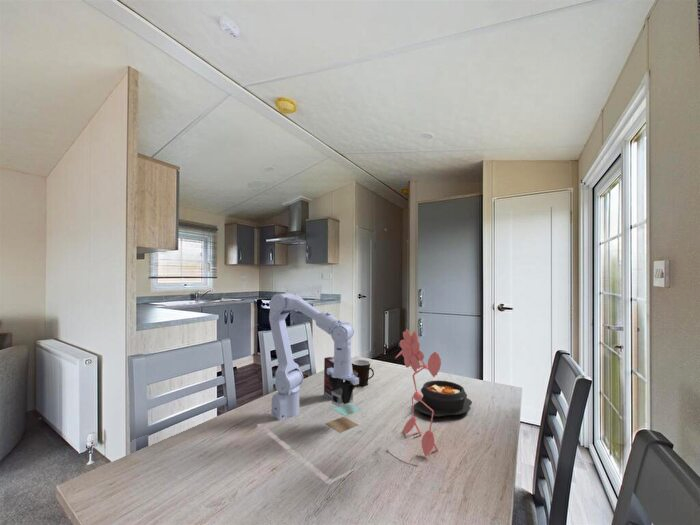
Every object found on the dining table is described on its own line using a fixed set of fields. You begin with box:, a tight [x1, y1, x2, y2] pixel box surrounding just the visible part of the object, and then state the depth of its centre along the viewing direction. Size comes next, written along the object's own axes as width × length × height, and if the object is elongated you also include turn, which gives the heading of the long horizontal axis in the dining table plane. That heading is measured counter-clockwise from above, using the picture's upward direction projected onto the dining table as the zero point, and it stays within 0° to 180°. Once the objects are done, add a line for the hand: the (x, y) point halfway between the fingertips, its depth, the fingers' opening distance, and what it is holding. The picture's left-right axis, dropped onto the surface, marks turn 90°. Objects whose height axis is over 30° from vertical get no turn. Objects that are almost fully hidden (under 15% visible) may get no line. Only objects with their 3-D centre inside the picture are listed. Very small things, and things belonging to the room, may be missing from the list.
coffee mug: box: [351, 359, 375, 388], centre depth 147 cm, size 12×9×10 cm
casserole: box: [413, 380, 473, 417], centre depth 123 cm, size 25×19×8 cm
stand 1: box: [331, 403, 362, 417], centre depth 120 cm, size 8×8×1 cm
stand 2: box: [325, 416, 359, 434], centre depth 108 cm, size 8×8×1 cm
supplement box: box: [323, 356, 334, 400], centre depth 133 cm, size 9×5×16 cm, turn 31°
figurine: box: [387, 328, 442, 467], centre depth 97 cm, size 15×26×35 cm, turn 19°
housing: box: [330, 388, 354, 407], centre depth 108 cm, size 6×4×4 cm, turn 131°
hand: (342, 400), depth 108 cm, fingers closed on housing, 4 cm apart
